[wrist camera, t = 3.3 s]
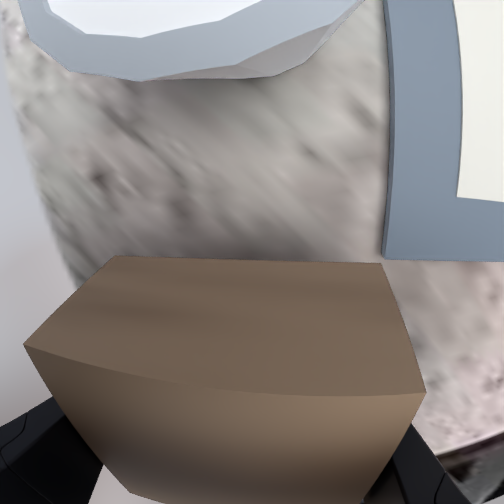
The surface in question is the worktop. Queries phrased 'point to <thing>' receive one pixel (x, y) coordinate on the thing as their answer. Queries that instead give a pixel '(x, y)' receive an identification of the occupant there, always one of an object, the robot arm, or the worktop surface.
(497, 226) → the board
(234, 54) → the white cup
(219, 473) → the walnut block
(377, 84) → the worktop surface
